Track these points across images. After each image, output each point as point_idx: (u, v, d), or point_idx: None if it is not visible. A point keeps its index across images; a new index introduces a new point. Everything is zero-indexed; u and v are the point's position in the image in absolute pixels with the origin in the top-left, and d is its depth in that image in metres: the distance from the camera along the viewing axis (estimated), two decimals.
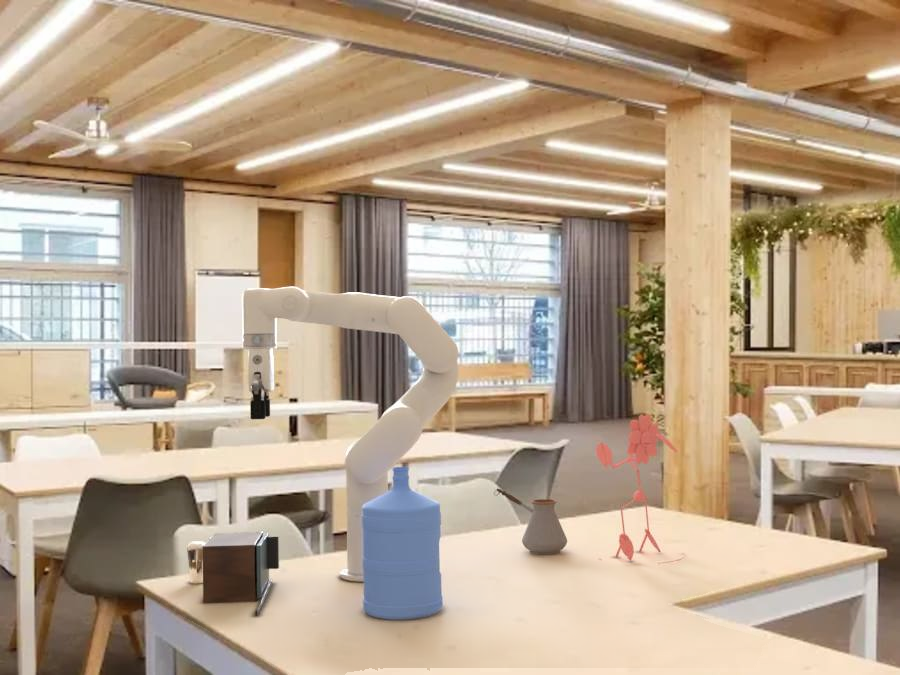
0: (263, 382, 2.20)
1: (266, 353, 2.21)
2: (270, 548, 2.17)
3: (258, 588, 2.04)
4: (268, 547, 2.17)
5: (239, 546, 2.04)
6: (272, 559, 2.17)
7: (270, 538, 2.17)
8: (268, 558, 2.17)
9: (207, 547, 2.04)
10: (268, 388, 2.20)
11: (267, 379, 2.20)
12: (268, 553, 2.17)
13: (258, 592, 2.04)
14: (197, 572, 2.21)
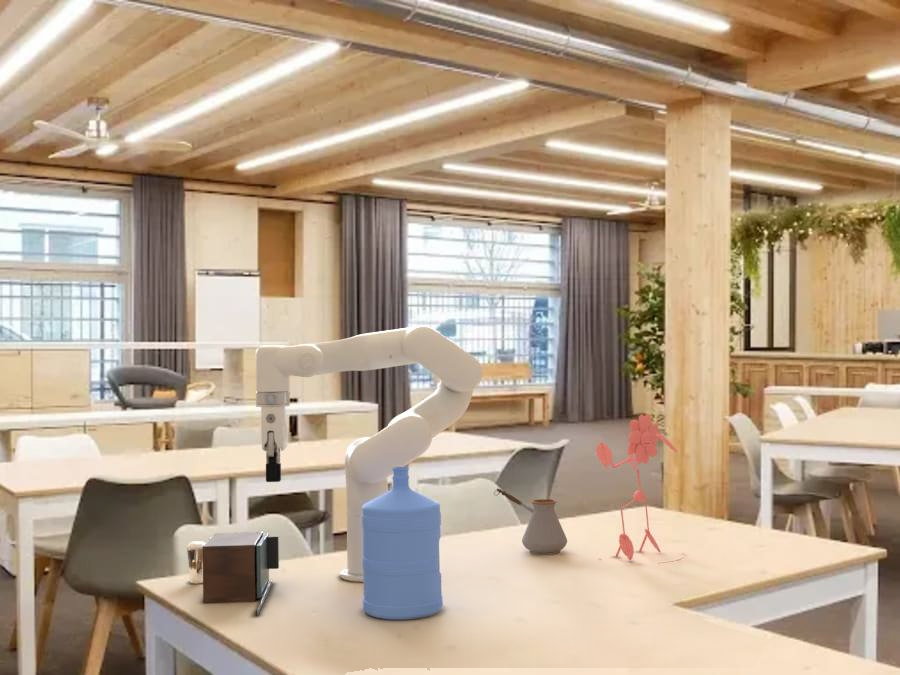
0: (276, 441, 2.18)
1: (280, 411, 2.19)
2: (270, 548, 2.17)
3: (258, 588, 2.04)
4: (268, 547, 2.17)
5: (239, 546, 2.04)
6: (272, 559, 2.17)
7: (270, 538, 2.17)
8: (268, 558, 2.17)
9: (207, 547, 2.04)
10: (281, 447, 2.18)
11: (280, 438, 2.18)
12: (268, 553, 2.17)
13: (258, 592, 2.04)
14: (197, 572, 2.21)
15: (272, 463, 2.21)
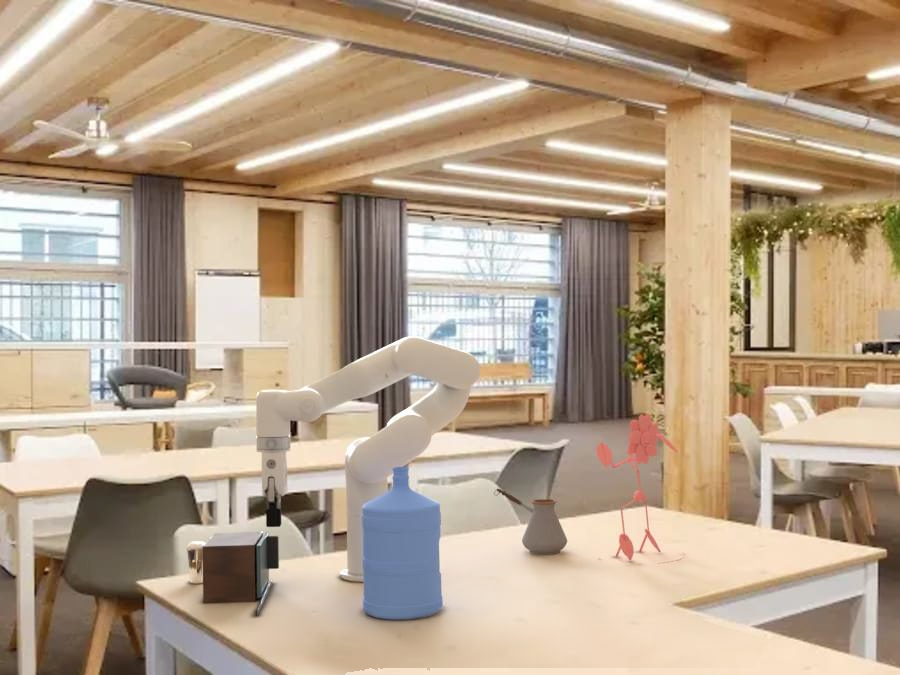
0: (277, 487, 2.17)
1: (280, 457, 2.18)
2: (270, 548, 2.17)
3: (258, 588, 2.04)
4: (268, 547, 2.17)
5: (239, 546, 2.04)
6: (272, 559, 2.17)
7: (270, 538, 2.17)
8: (268, 558, 2.17)
9: (207, 547, 2.04)
10: (282, 493, 2.18)
11: (281, 484, 2.18)
12: (268, 553, 2.17)
13: (258, 592, 2.04)
14: (197, 572, 2.21)
15: (272, 508, 2.21)
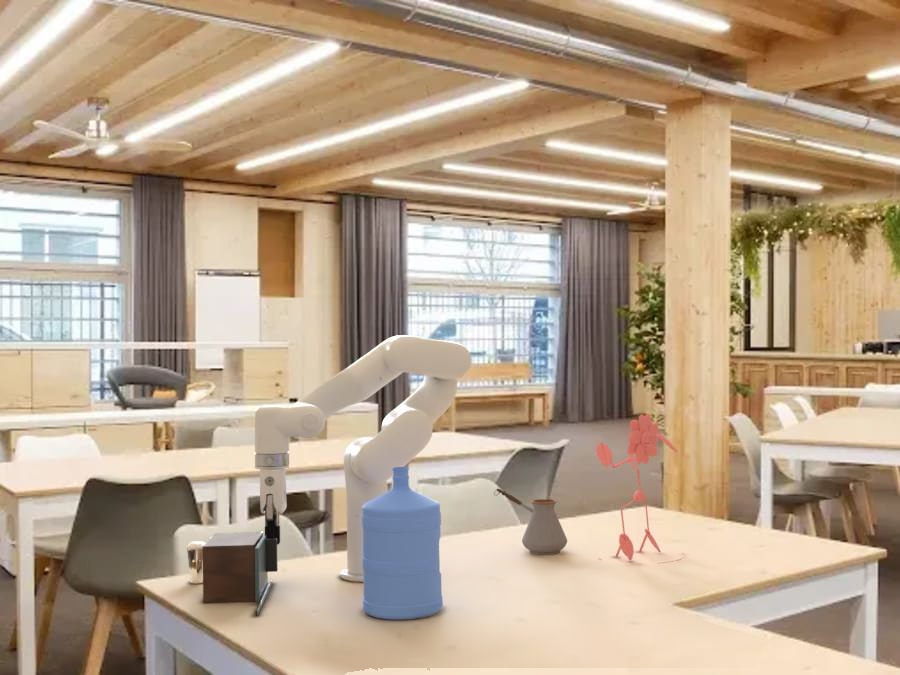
0: (275, 504, 2.14)
1: (279, 474, 2.15)
2: (269, 551, 2.14)
3: (256, 591, 2.01)
4: (267, 550, 2.14)
5: (239, 546, 2.04)
6: (271, 562, 2.14)
7: (269, 540, 2.14)
8: (267, 561, 2.14)
9: (207, 547, 2.04)
10: (280, 510, 2.14)
11: (279, 501, 2.14)
12: (267, 556, 2.14)
13: (256, 595, 2.01)
14: (197, 572, 2.21)
15: (271, 526, 2.17)
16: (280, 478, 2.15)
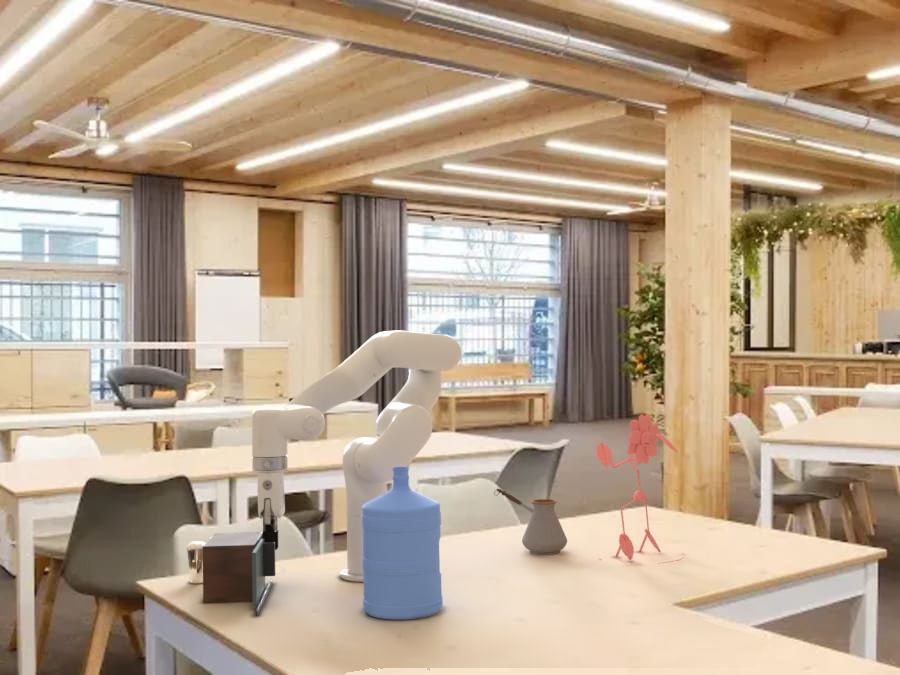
0: (273, 509, 2.10)
1: (277, 478, 2.11)
2: (266, 555, 2.09)
3: (254, 597, 1.97)
4: (264, 554, 2.09)
5: (239, 546, 2.04)
6: (268, 567, 2.09)
7: (266, 544, 2.09)
8: (264, 565, 2.09)
9: (207, 547, 2.04)
10: (278, 515, 2.10)
11: (277, 506, 2.10)
12: (264, 560, 2.09)
13: (254, 601, 1.97)
14: (197, 572, 2.21)
15: (269, 531, 2.13)
16: (278, 482, 2.11)
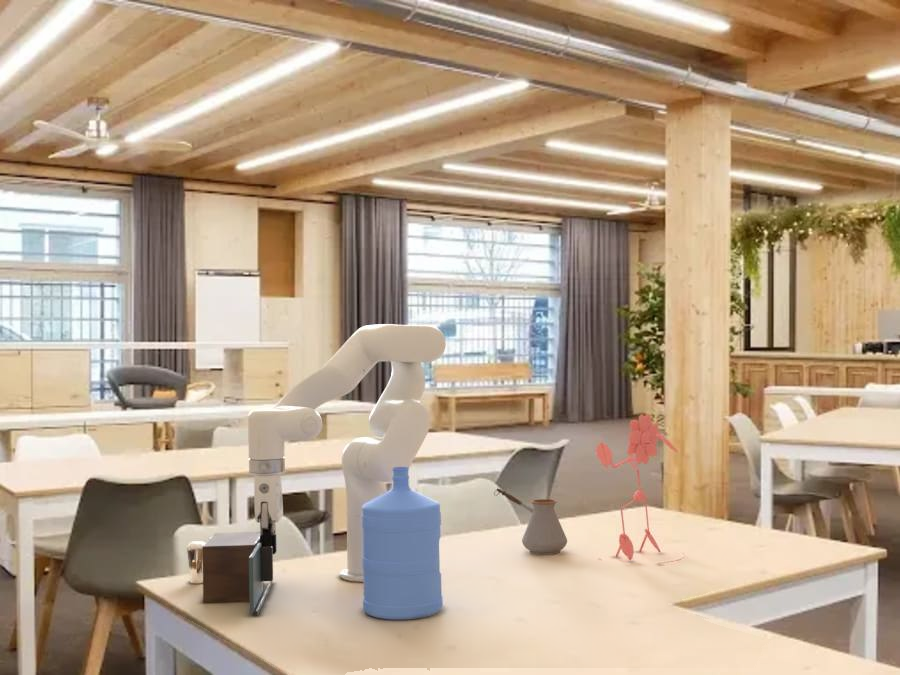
0: (270, 513, 2.05)
1: (274, 481, 2.06)
2: (264, 559, 2.04)
3: (251, 603, 1.92)
4: (262, 558, 2.04)
5: (239, 546, 2.04)
6: (266, 571, 2.04)
7: (264, 549, 2.04)
8: (262, 570, 2.04)
9: (207, 547, 2.04)
10: (276, 519, 2.05)
11: (275, 509, 2.05)
12: (262, 565, 2.04)
13: (251, 607, 1.92)
14: (197, 572, 2.21)
15: (266, 535, 2.08)
16: (275, 485, 2.06)
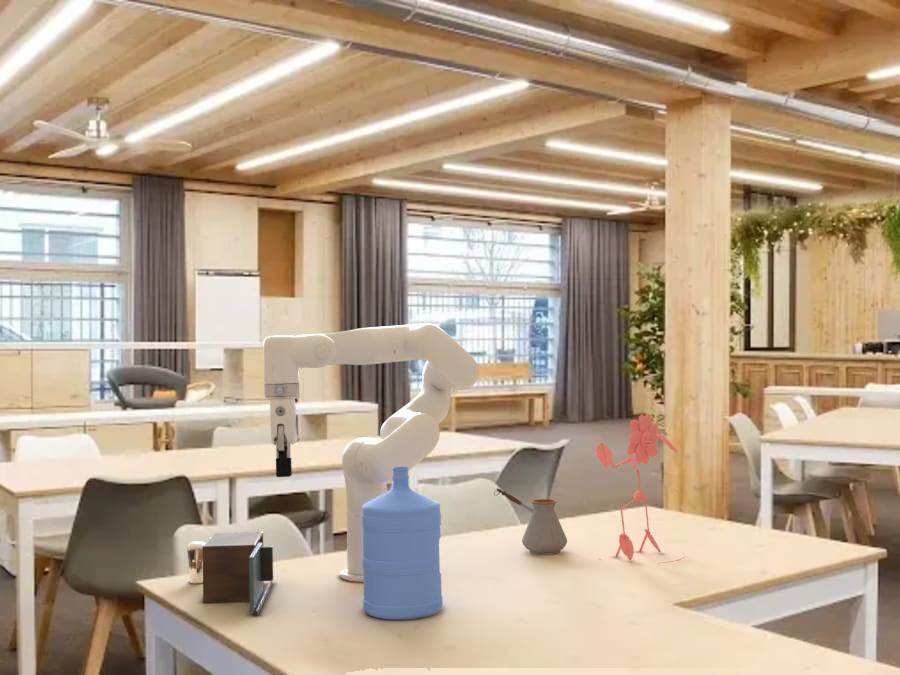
0: (287, 435, 2.10)
1: (289, 404, 2.11)
2: (264, 559, 2.05)
3: (251, 602, 1.92)
4: (262, 558, 2.05)
5: (239, 546, 2.04)
6: (266, 571, 2.05)
7: (264, 548, 2.05)
8: (262, 570, 2.05)
9: (207, 547, 2.04)
10: (292, 441, 2.10)
11: (291, 431, 2.10)
12: (262, 564, 2.05)
13: (251, 606, 1.92)
14: (197, 572, 2.21)
15: (282, 457, 2.13)
16: (291, 408, 2.11)
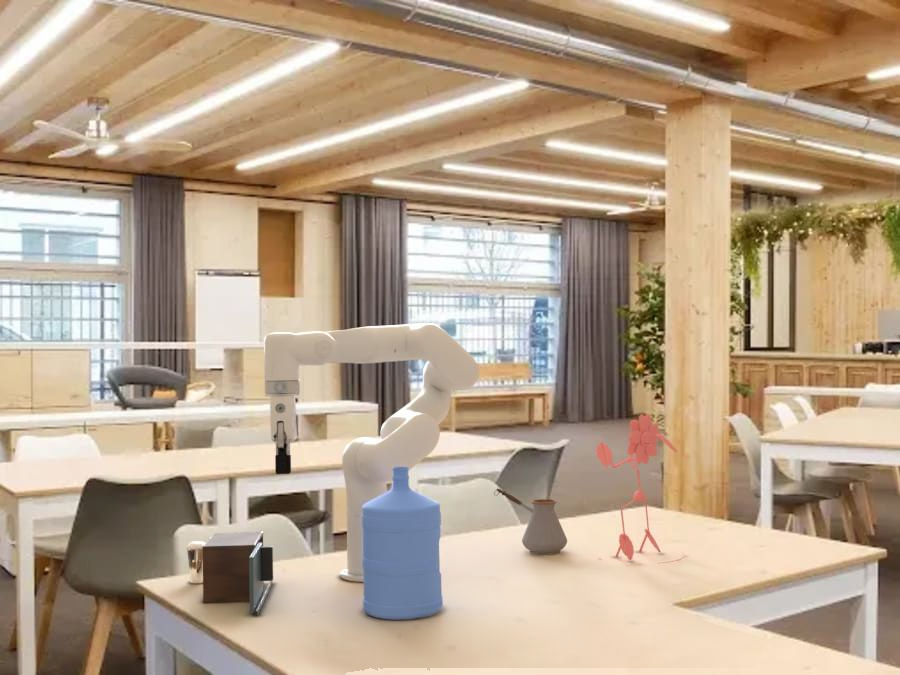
0: (286, 432, 2.10)
1: (289, 401, 2.11)
2: (264, 559, 2.05)
3: (251, 602, 1.92)
4: (262, 558, 2.05)
5: (239, 546, 2.04)
6: (266, 571, 2.05)
7: (264, 548, 2.05)
8: (262, 570, 2.05)
9: (207, 547, 2.04)
10: (292, 438, 2.10)
11: (290, 428, 2.10)
12: (262, 564, 2.05)
13: (251, 606, 1.92)
14: (197, 572, 2.21)
15: (282, 454, 2.13)
16: (291, 405, 2.11)
